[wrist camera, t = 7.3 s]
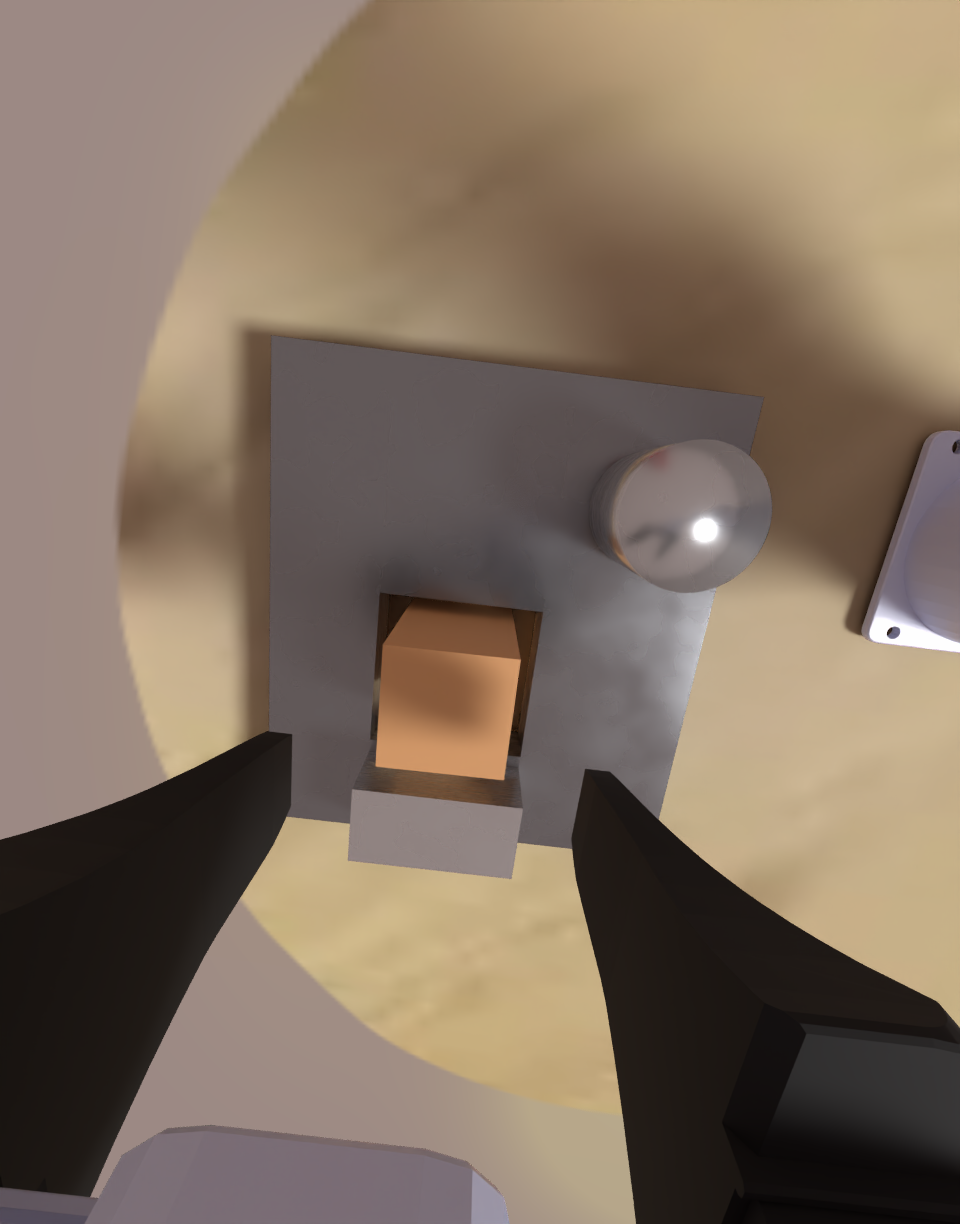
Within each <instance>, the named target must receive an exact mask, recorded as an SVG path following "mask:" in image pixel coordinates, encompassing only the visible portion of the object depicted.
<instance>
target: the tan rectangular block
mask: <svg viewBox="0 0 960 1224" xmlns="http://www.w3.org/2000/svg"><path fill="white" fill-rule="evenodd" d="M520 662H521V658H520V653H519V647H518V641H517V636H516V630H515V624H514V619H513V613H512V608H505V607H496V606H487V605H478V604H469V603H460V602H451V601H442V600H433V599H424V598H415V597H414V598H413V600H412V601H411V603H410V604H409V606H408V607H407V609H406V610H405V612H404V614H403V615H402V617H401V618H400V620H399V621H398V623H397V624H396V626H395V627H394V629H393V630H392V632H391V633H390V635H389V636H388V638H387V639H386V641H385V642H384V644H383V650H382V667H381V683H380V700H379V716H378V733H377V749H376V766H375V767H384V768H393V769H403V770H412V771H421V772H431V773H440V774H449V775H459V776H468V777H477V778H486V779H496V780H504V776H505V769H506V762H507V755H508V748H509V740H510V733H511V726H512V719H513V712H514V705H515V697H516V690H517V683H518V676H519V669H520Z"/></svg>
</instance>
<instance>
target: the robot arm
mask: <svg viewBox="0 0 960 1224" xmlns="http://www.w3.org/2000/svg"><path fill="white" fill-rule="evenodd" d="M955 441H956V443H957V449H956V450H955V452H954V453H953V451H952V446H953V444H954V442H955ZM891 627H892V632H891V633H890V634H889V635H887V631H888V629H889V628H891ZM861 632H862V635H863V637H864V638H865V639H867V640H869V641H872V642H875V643H881V644H890V645H898V646H907V647H915V648H923V649H932V650H940V651H948V652H957V653H960V432H959V431H951V430H948V431H938V432H935V433H933V434H931V435H930V436H929V437H928V438H927V439H926V441H925V443H924V445H923V448H922V451H921V454H920V457H919V459H918V462H917V465H916V468H915V471H914V474H913V477H912V480H911V483H910V486H909V489H908V492H907V495H906V498H905V501H904V504H903V507H902V510H901V513H900V516H899V519H898V522H897V525H896V528H895V531H894V534H893V537H892V540H891V543H890V546H889V549H888V552H887V554H886V557H885V560H884V563H883V566H882V569H881V572H880V575H879V578H878V581H877V584H876V587H875V590H874V593H873V596H872V599H871V602H870V605H869V608H868V611H867V614H866V617H865V620H864V623H863V626H862V631H861ZM291 781H292V734H287V733H278V732H270V731H267V732H265V733H262V734H260V735H258V736H256V737H254V738H252V739H250V740H248V741H246V742H244V743H242V744H240V745H238V746H236V747H234V748H232V749H230V750H228V751H226V752H224V753H222V754H220V755H218V756H216V757H214V758H212V759H211V760H209V761H207V762H205V763H203V764H201V765H199V766H197V767H195V768H193V769H191V770H189V771H186V772H184V773H182V774H180V775H178V776H176V777H173V778H171V779H169V780H167V781H165V782H163V783H161V784H159V785H156V786H154V787H152V788H150V789H148V790H145V791H143V792H140V793H138V794H136V795H133V796H131V797H128V798H126V799H123V800H121V801H118V802H116V803H113V804H110V805H108V806H105V807H102V808H100V809H97V810H95V811H92V812H89V813H86V814H83V815H80V816H77V817H74V818H71V819H67V820H65V821H61V822H58V823H55V824H52V825H49V826H46V827H43V828H39V829H36V830H33V831H30V832H27V833H23V834H20V835H16V836H12V837H9V838H5V839H2V840H0V1224H509V1219H508V1214H507V1210H506V1204H505V1199H504V1197H503V1195H502V1194H501V1193H500V1191H499V1190H498V1189H497V1188H496V1186H495V1185H494V1184H492V1183H491V1182H490V1181H489V1180H488V1179H487V1178H485V1177H484V1176H483V1175H482V1174H481V1173H480V1172H479V1171H478V1170H476V1169H475V1168H474V1167H473V1166H472V1165H470V1163H468V1162H467V1161H464V1160H461V1159H457V1158H454V1157H451V1156H447V1155H444V1154H441V1153H437V1152H434V1151H431V1150H427V1149H423V1148H414V1147H405V1146H396V1145H387V1144H378V1143H369V1142H360V1141H351V1140H341V1139H332V1138H324V1137H314V1136H305V1135H296V1134H287V1133H279V1132H270V1131H260V1130H252V1129H243V1128H234V1127H224V1126H215V1125H205V1126H191V1127H178V1128H168V1129H166V1130H164V1131H162V1132H160V1133H158V1134H157V1135H155V1136H153V1137H151V1138H150V1139H148V1140H146V1141H145V1142H143V1143H141V1144H140V1145H138V1146H136V1147H135V1148H133V1149H132V1150H130V1151H128V1152H127V1153H125V1154H123V1155H122V1156H121V1158H120V1160H119V1162H118V1164H117V1165H116V1167H115V1169H114V1171H113V1173H112V1175H111V1176H110V1178H109V1180H108V1182H107V1184H106V1186H105V1187H104V1189H103V1191H102V1193H101V1195H100V1197H99V1198H92V1197H90V1196H91V1193H92V1191H93V1189H94V1187H95V1185H96V1182H97V1180H98V1178H99V1175H100V1173H101V1171H102V1169H103V1167H104V1164H105V1162H106V1160H107V1157H108V1155H109V1153H110V1151H111V1148H112V1146H113V1144H114V1142H115V1139H116V1137H117V1135H118V1133H119V1131H120V1129H121V1126H122V1124H123V1122H124V1120H125V1118H126V1116H127V1113H128V1111H129V1109H130V1107H131V1105H132V1103H133V1101H134V1098H135V1096H136V1094H137V1092H138V1090H139V1088H140V1085H141V1083H142V1081H143V1079H144V1077H145V1075H146V1072H147V1070H148V1068H149V1066H150V1064H151V1062H152V1060H153V1058H154V1056H155V1054H156V1052H157V1049H158V1047H159V1045H160V1044H161V1041H162V1039H163V1037H164V1035H165V1033H166V1031H167V1029H168V1027H169V1025H170V1023H171V1021H172V1019H173V1017H174V1015H175V1013H176V1011H177V1009H178V1007H179V1005H180V1003H181V1001H182V999H183V997H184V995H185V993H186V991H187V989H188V987H189V985H190V983H191V981H192V979H193V977H194V975H195V973H196V972H197V970H198V968H199V966H200V964H201V962H202V960H203V958H204V956H205V954H206V953H207V951H208V949H209V947H210V946H211V944H212V942H213V941H214V939H215V937H216V935H217V934H218V932H219V931H220V929H221V927H222V926H223V924H224V923H225V921H226V919H227V918H228V916H229V914H230V913H231V911H232V910H233V908H234V907H235V905H236V904H237V902H238V900H239V899H240V897H241V896H242V894H243V893H244V891H245V889H246V888H247V886H248V885H249V883H250V882H251V880H252V878H253V877H254V875H255V874H256V872H257V870H258V869H259V867H260V866H261V864H262V862H263V861H264V859H265V857H266V856H267V854H268V853H269V851H270V849H271V848H272V846H273V844H274V842H275V840H276V838H277V836H278V834H279V832H280V830H281V828H282V825H283V823H284V821H285V819H286V816H287V814H288V812H289V810H290V807H291ZM571 842H572V851H573V860H574V868H575V875H576V881H577V886H578V890H579V894H580V898H581V902H582V906H583V910H584V914H585V918H586V922H587V926H588V930H589V934H590V938H591V942H592V946H593V950H594V954H595V958H596V962H597V966H598V970H599V974H600V978H601V982H602V987H603V992H604V996H605V1001H606V1007H607V1013H608V1019H609V1026H610V1032H611V1038H612V1045H613V1051H614V1057H615V1064H616V1071H617V1078H618V1085H619V1092H620V1099H621V1106H622V1114H623V1121H624V1129H625V1137H626V1145H627V1152H628V1160H629V1167H630V1176H631V1184H632V1192H633V1200H634V1209H635V1218H636V1224H960V1028H959V1026H958V1025H957V1024H956V1023H955V1022H954V1020H953V1019H952V1018H951V1017H950V1016H949V1015H948V1013H947V1012H946V1011H945V1010H944V1009H943V1008H942V1006H941V1005H940V1004H939V1003H938V1002H937V1001H935V1000H933V999H931V998H929V997H927V996H925V995H923V994H921V993H919V992H917V991H915V990H913V989H911V988H909V987H907V986H905V985H903V984H901V983H899V982H897V981H895V980H893V979H891V978H889V977H887V976H885V975H883V974H881V973H879V972H877V971H875V970H873V969H871V968H869V967H867V966H865V965H863V964H861V963H859V962H857V961H855V960H854V959H852V958H850V957H848V956H847V955H845V954H843V953H841V952H840V951H838V950H836V949H834V948H832V947H831V946H829V945H827V944H825V943H824V942H822V941H820V940H818V939H817V938H815V937H813V936H812V935H810V934H808V933H807V932H805V931H803V930H802V929H800V928H798V927H797V926H795V925H794V924H792V923H790V922H789V921H787V920H786V919H784V918H783V917H781V916H780V915H778V914H777V913H775V912H774V911H772V910H771V909H769V908H768V907H766V906H764V905H763V904H761V903H760V902H758V901H757V900H756V899H754V898H753V897H751V896H750V895H748V894H747V893H746V892H744V891H743V890H741V889H740V888H739V887H737V886H736V885H735V884H733V883H732V882H731V881H730V880H728V879H727V878H726V877H724V876H723V875H722V874H720V873H719V872H718V871H716V870H715V869H714V868H713V867H711V866H710V865H709V864H708V863H706V862H705V861H704V860H703V859H701V858H700V857H699V856H698V855H697V854H696V853H695V852H693V851H692V850H691V849H690V848H689V847H688V846H687V845H685V844H684V843H683V842H682V841H681V840H680V839H679V838H677V837H676V836H675V835H674V834H673V833H672V832H671V831H670V830H669V829H668V828H667V827H666V826H665V825H664V824H662V823H661V822H660V821H659V820H658V819H657V818H656V817H655V816H654V815H653V814H652V813H651V812H650V811H649V810H648V809H647V808H646V807H645V806H644V805H643V804H642V803H641V802H640V801H639V800H638V799H637V798H636V797H635V796H634V795H633V794H632V793H631V792H630V791H629V790H628V789H627V788H626V787H625V786H624V785H623V784H622V783H621V782H620V781H619V780H618V779H617V778H616V777H615V776H614V775H613V774H612V773H611V772H610V771H601V770H593V769H585V772H584V777H583V782H582V787H581V792H580V797H579V802H578V807H577V812H576V817H575V822H574V827H573V832H572V837H571Z"/></svg>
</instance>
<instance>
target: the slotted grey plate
mask: <svg viewBox="0 0 960 1224" xmlns="http://www.w3.org/2000/svg"><path fill="white" fill-rule="evenodd" d="M763 399H764V397H759V396H751V395H743V394H735V393H727V392H719V391H711V390H703V389H695V388H687V387H679V386H671V385H663V384H655V383H647V382H639V381H631V380H623V379H615V378H607V377H599V376H591V375H583V374H575V373H567V372H559V371H551V370H543V369H535V368H527V367H519V366H511V365H503V364H496V363H488V362H480V361H472V360H464V359H456V358H448V357H440V356H432V355H424V354H416V353H408V352H400V351H392V350H384V349H376V348H368V347H360V346H352V345H344V344H336V343H328V342H320V341H312V340H304V339H296V338H288V337H280V336H272V335H271V472H270V649H269V731H270V732H278V733H287V734H292V781H291V807H290V810H289V812H288V814H287V817H296V818H305V819H314V820H322V821H331V822H340V823H349V824H350V833H349V851H348V861H356V862H365V863H374V864H383V865H392V866H401V867H410V868H419V869H428V870H437V871H445V872H454V873H463V874H472V875H481V876H490V877H499V878H508V879H512V873H513V866H514V860H515V854H516V848H517V843H526V844H534V845H543V846H552V847H561V848H570V849H572V842H571V837H572V832H573V827H574V822H575V817H576V812H577V807H578V802H579V797H580V792H581V787H582V782H583V777H584V772H585V769H593V770H601V771H610V772H611V773H612V774H613V775H614V776H615V777H616V778H617V779H618V780H619V781H620V782H621V783H622V784H623V785H624V786H625V787H626V788H627V789H628V790H629V791H630V792H631V793H632V794H633V795H634V796H635V797H636V798H637V799H638V800H639V801H640V802H641V803H642V804H643V805H644V806H645V807H646V808H647V809H648V810H649V811H650V812H651V813H652V814H653V815H654V816H655V817H656V818H657V819H659V815H660V811H661V807H662V803H663V799H664V795H665V791H666V787H667V783H668V779H669V775H670V771H671V767H672V763H673V759H674V755H675V751H676V747H677V743H678V739H679V735H680V731H681V727H682V723H683V719H684V715H685V711H686V707H687V703H688V699H689V695H690V691H691V687H692V683H693V679H694V675H695V671H696V667H697V663H698V659H699V655H700V651H701V647H702V643H703V639H704V635H705V631H706V627H707V623H708V619H709V615H710V611H711V607H712V603H713V599H714V595H715V591H716V587H718V586H720V585H722V584H725V583H726V582H728V581H730V580H731V579H733V578H735V577H736V576H737V575H738V574H740V573H741V572H742V571H743V570H744V569H745V568H746V567H747V566H748V565H749V564H750V563H751V562H752V561H753V559H754V558H755V557H756V556H757V554H758V552H759V551H760V549H761V548H762V546H763V544H764V541H765V539H766V537H767V534H768V531H769V528H770V523H771V518H772V497H771V492H770V488H769V485H768V482H767V479H766V477H765V475H764V473H763V472H762V470H761V468H760V467H759V466H758V464H757V463H756V462H755V461H754V460H753V459H752V458H751V457H750V456H749V455H750V451H751V447H752V443H753V439H754V435H755V431H756V427H757V423H758V419H759V415H760V411H761V407H762V403H763ZM390 594H396V595H404V596H412V597H421V598H429V599H438V600H446V601H454V602H463V603H471V604H480V605H488V606H496V607H505V608H513V609H522V610H530V611H536V615H535V622H534V628H533V635H532V641H531V648H530V655H529V661H528V668H527V674H526V681H525V687H524V694H523V700H522V707H521V713H520V720H519V726H518V732H513V731H511V733H510V740H509V748H508V755H507V762H506V769H505V776H504V780H496V779H486V778H477V777H468V776H459V775H449V774H440V773H431V772H421V771H412V770H403V769H393V768H384V767H375V766H376V749H377V733H378V716H379V700H380V683H381V667H382V650H383V644H384V642H385V641H386V639H387V625H388V611H389V597H390Z"/></svg>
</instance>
